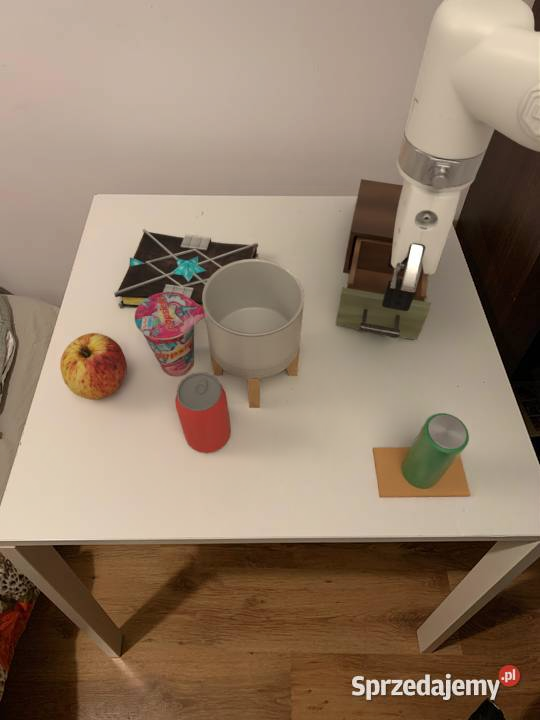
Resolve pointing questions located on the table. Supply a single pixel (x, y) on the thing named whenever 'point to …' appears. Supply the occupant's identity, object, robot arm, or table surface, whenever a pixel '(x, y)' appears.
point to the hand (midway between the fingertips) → (397, 286)
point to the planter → (253, 321)
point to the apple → (93, 366)
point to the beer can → (203, 412)
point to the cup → (170, 329)
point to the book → (176, 266)
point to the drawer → (379, 295)
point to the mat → (397, 485)
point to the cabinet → (373, 215)
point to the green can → (434, 450)
